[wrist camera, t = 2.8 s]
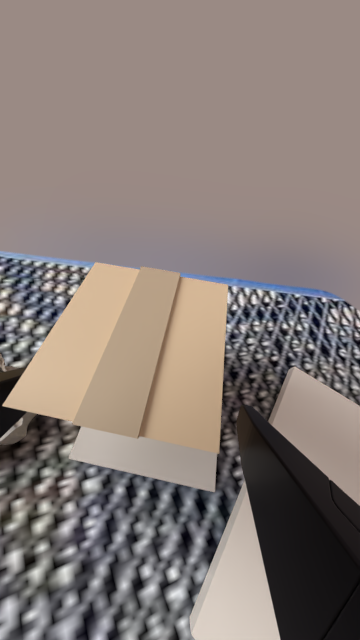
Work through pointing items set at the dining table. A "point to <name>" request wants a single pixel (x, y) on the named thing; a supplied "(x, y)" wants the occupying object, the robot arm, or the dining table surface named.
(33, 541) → the dining table surface
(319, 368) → the dining table surface
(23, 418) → the egg carton
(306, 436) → the off-white pad
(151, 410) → the kraft carton
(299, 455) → the robot arm
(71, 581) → the dining table surface
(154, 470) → the grey mat
